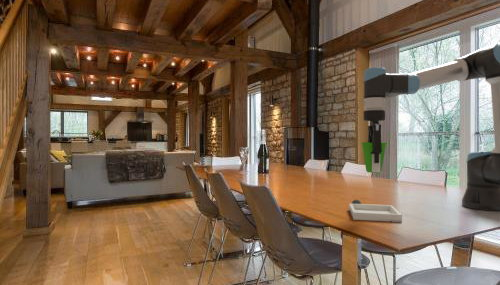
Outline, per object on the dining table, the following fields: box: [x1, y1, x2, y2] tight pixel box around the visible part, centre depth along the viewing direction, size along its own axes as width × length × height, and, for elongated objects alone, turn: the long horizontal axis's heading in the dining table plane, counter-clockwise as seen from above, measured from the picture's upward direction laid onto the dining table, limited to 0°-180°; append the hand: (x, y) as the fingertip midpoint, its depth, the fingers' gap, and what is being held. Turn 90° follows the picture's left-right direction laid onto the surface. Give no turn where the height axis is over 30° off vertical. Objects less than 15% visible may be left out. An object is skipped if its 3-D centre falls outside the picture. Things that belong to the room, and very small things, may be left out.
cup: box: [360, 141, 388, 174], centre depth 121 cm, size 9×9×11 cm
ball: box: [351, 199, 362, 204], centre depth 133 cm, size 4×4×4 cm
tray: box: [348, 203, 403, 223], centre depth 121 cm, size 16×16×2 cm
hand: (373, 170), depth 121 cm, fingers closed on cup, 9 cm apart
